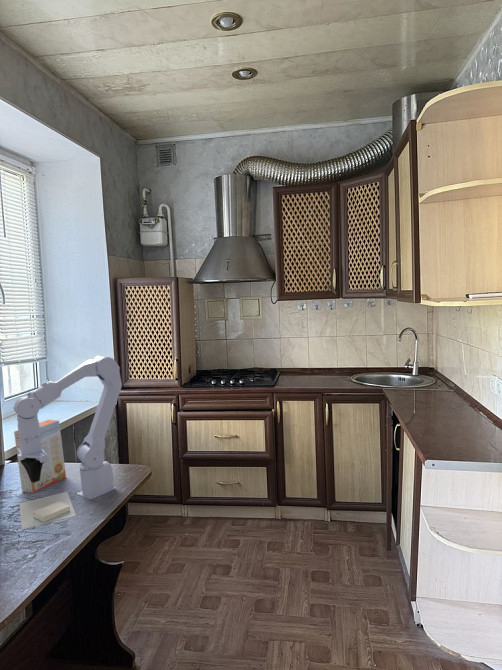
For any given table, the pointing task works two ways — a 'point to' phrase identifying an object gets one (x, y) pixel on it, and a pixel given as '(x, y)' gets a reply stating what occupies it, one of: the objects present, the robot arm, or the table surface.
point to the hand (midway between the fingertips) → (35, 481)
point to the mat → (40, 503)
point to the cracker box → (55, 464)
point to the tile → (51, 511)
